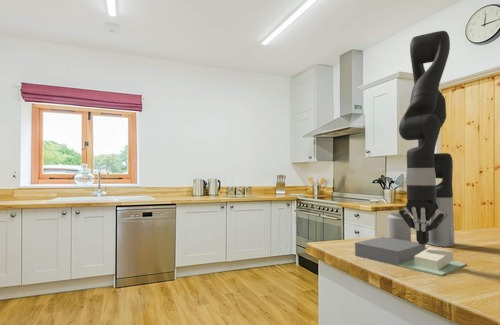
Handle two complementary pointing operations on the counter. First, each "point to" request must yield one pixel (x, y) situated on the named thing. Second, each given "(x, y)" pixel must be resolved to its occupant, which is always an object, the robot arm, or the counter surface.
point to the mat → (444, 270)
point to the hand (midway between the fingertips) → (422, 244)
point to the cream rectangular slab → (433, 258)
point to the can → (398, 227)
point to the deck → (388, 250)
